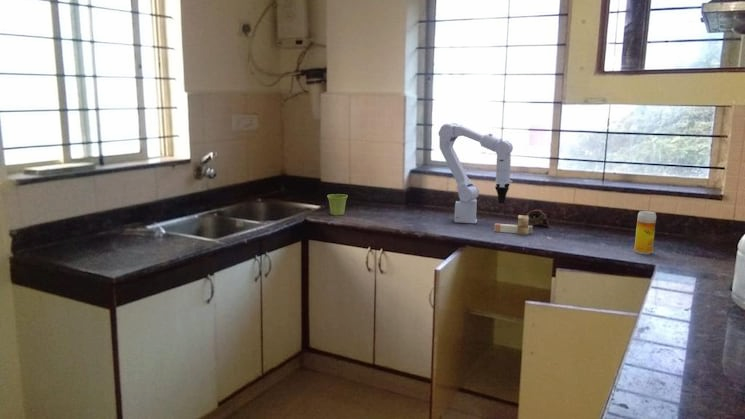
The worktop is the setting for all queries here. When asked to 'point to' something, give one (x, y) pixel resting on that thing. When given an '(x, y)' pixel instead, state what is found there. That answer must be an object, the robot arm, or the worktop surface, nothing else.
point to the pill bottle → (645, 232)
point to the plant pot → (337, 203)
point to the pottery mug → (537, 218)
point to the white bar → (509, 228)
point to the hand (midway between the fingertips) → (501, 201)
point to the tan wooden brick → (522, 224)
